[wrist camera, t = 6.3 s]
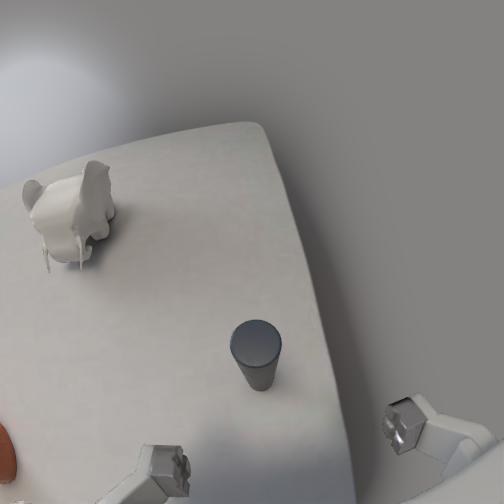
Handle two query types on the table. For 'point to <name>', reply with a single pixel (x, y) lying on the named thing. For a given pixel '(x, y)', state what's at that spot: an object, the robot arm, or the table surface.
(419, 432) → the robot arm
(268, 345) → the rod
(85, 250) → the elephant figurine
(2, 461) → the cup
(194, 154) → the table surface
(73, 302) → the table surface
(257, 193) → the table surface
